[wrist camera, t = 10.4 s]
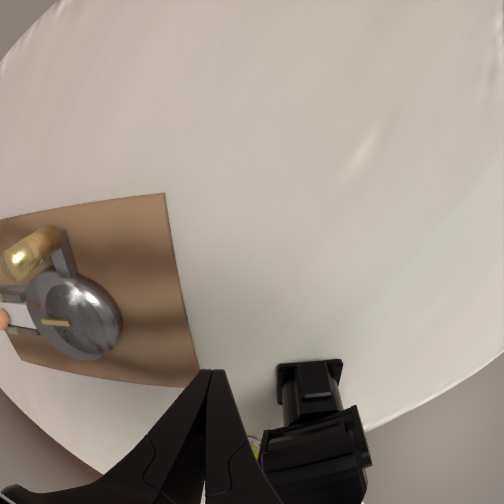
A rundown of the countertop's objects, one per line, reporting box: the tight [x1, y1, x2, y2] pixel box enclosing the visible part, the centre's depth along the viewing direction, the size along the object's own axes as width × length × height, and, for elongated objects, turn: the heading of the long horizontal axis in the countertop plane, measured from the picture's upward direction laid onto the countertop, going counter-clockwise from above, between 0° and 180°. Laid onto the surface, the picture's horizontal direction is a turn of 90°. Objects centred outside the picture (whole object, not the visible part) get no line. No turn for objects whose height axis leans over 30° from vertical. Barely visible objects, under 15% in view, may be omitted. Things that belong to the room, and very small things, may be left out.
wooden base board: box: [0, 193, 200, 388], centre depth 23 cm, size 20×28×3 cm
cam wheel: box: [0, 224, 123, 361], centre depth 20 cm, size 12×12×7 cm
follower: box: [0, 299, 37, 330], centre depth 22 cm, size 3×8×4 cm, turn 93°
